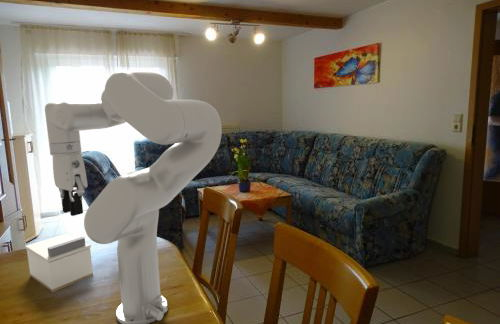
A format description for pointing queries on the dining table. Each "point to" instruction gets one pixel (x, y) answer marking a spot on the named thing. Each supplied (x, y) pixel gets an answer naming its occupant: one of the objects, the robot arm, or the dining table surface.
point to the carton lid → (58, 247)
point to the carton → (61, 269)
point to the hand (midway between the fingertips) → (73, 212)
